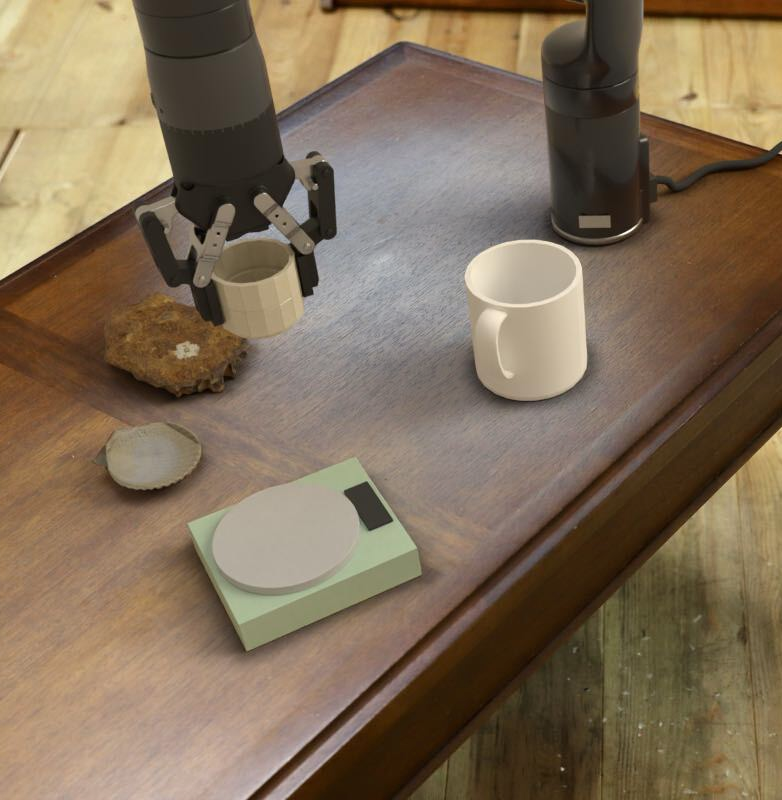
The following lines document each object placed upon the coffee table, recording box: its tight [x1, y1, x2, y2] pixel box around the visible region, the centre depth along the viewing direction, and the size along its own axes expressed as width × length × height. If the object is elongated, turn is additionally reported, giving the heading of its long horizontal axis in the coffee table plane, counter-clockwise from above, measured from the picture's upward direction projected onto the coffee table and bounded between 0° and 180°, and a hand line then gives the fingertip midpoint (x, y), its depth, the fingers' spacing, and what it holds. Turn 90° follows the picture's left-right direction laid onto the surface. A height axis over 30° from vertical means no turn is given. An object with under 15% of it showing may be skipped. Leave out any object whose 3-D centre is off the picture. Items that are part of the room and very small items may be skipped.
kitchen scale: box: [186, 456, 423, 652], centre depth 105 cm, size 14×12×4 cm
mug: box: [464, 239, 588, 402], centre depth 120 cm, size 13×10×10 cm
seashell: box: [92, 421, 203, 492], centre depth 114 cm, size 8×3×8 cm
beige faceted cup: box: [211, 237, 306, 340], centre depth 101 cm, size 6×6×5 cm
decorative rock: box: [103, 292, 249, 398], centre depth 126 cm, size 11×4×15 cm
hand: (261, 304), depth 101 cm, fingers closed on beige faceted cup, 6 cm apart
